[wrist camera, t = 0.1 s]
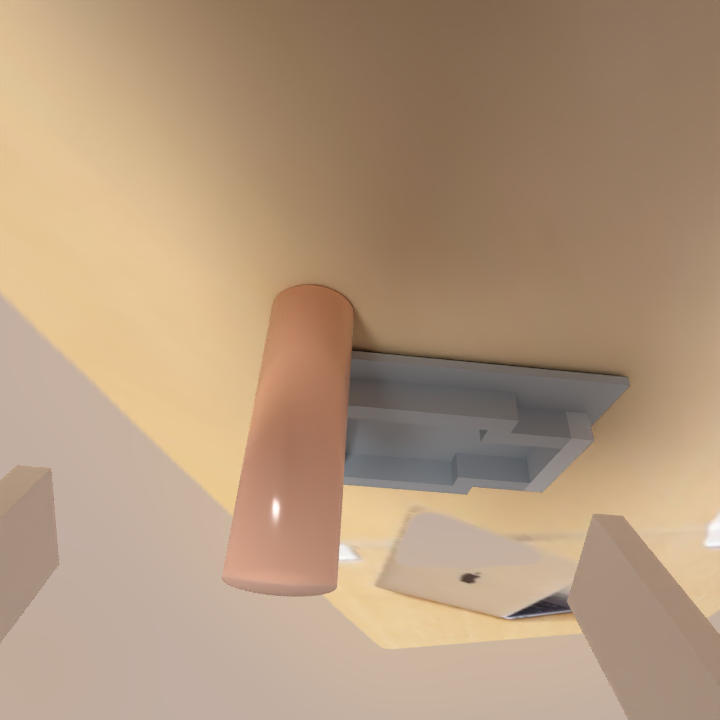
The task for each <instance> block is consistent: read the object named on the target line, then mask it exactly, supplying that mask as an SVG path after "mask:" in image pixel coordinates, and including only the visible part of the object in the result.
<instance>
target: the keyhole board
mask: <svg viewBox="0 0 720 720" xmlns="http://www.w3.org/2000/svg"><path fill="white" fill-rule="evenodd" d="M629 386H630V383H629V380H628V377H620V376H610V375H599V374H589V373H579V372H568V371H558V370H547V369H537V368H527V367H516V366H506V365H495V364H485V363H475V362H464V361H454V360H444V359H433V358H423V357H412V356H402V355H392V354H381V353H371V352H360V351H352V355H351V370H350V386H349V402H348V418H347V434H346V449H345V465H344V481H343V485H355V486H367V487H380V488H392V489H404V490H417V491H429V492H441V493H454V494H466V495H467V493H468V492H469V491H470V489H471V488H472V487H482V488H494V489H506V490H518V491H530V492H543V491H544V490H545V489H546V488H547V487H548V486H549V485H550V484H551V483H552V482H553V481H554V480H555V479H556V478H557V477H558V476H559V475H560V474H561V473H562V472H563V471H564V470H565V469H566V468H567V467H568V466H569V465H570V464H571V463H572V462H573V461H574V460H575V459H576V458H577V457H578V456H579V455H580V454H581V453H582V452H583V451H584V450H585V449H586V448H587V447H588V446H589V445H590V444H591V443H592V442H593V441H594V437H593V433H592V429H591V426H592V425H593V424H594V423H595V422H596V421H597V420H598V419H599V418H600V417H601V416H602V415H603V414H604V412H605V411H606V410H607V409H608V408H609V407H610V406H611V405H612V404H613V403H614V402H615V401H616V400H617V399H618V398H619V397H620V396H621V395H622V394H623V393H624V391H625V390H626V389H627V388H628V387H629Z"/></svg>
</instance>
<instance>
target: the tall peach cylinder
mask: <svg viewBox="0 0 720 720" xmlns="http://www.w3.org/2000/svg"><path fill="white" fill-rule="evenodd" d="M353 323H354V311H353V308H352V306H351V304H350V303H349V301H348V300H347V299H346V298H345V297H343V296H342V295H341V294H339V293H338V292H336V291H334V290H331V289H329V288H326V287H322V286H316V285H300V286H295V287H291V288H288V289H286V290H284V291H283V292H281V293H280V294H279V295H278V296H277V297H276V298H275V299H274V301H273V304H272V309H271V314H270V320H269V325H268V330H267V336H266V341H265V347H264V352H263V358H262V363H261V368H260V374H259V379H258V385H257V390H256V396H255V401H254V406H253V412H252V417H251V423H250V428H249V433H248V439H247V444H246V450H245V455H244V461H243V466H242V471H241V477H240V482H239V488H238V493H237V499H236V504H235V509H234V515H233V520H232V526H231V531H230V537H229V542H228V548H227V553H226V558H225V564H224V569H223V574H222V580H223V581H224V582H225V583H227V584H228V585H230V586H232V587H235V588H238V589H241V590H245V591H249V592H254V593H260V594H267V595H277V596H314V595H321V594H326V593H329V592H332V591H334V590H335V589H336V588H337V576H338V560H339V544H340V528H341V513H342V497H343V481H344V465H345V449H346V434H347V418H348V402H349V386H350V370H351V355H352V339H353Z"/></svg>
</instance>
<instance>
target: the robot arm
mask: <svg viewBox="0 0 720 720" xmlns="http://www.w3.org/2000/svg"><path fill="white" fill-rule="evenodd" d="M55 521H56V520H55V508H54V497H53V485H52V473H51V468H44V467H33V466H20V465H17V466H16V467H15V468H14V469H12V471H10V472H9V473H8V474H7V475H6V476H4V477H3V478H2V479H1V480H0V643H1V642H2V640H3V639H4V638H5V636H6V635H7V633H8V632H9V631H10V630H11V628H12V627H13V626H14V624H15V623H16V622H17V620H18V619H19V618H20V616H21V615H22V614H23V612H24V611H25V610H26V608H27V607H28V605H29V604H30V603H31V601H32V600H33V599H34V597H35V596H36V595H37V593H38V592H39V591H40V589H41V588H42V587H43V585H44V584H45V583H46V581H47V580H48V579H49V577H50V576H51V575H52V573H53V572H54V571H55V569H56V568H57V567H58V565H59V556H58V545H57V532H56V522H55ZM567 603H568V605H569V606H570V608H571V610H572V612H573V614H574V616H575V618H576V620H577V622H578V624H579V626H580V628H581V630H582V631H583V633H584V635H585V637H586V639H587V641H588V643H589V645H590V647H591V649H592V651H593V653H594V655H595V656H596V658H597V660H598V662H599V664H600V666H601V668H602V670H603V672H604V674H605V676H606V677H607V680H608V681H609V683H610V685H611V687H612V689H613V691H614V693H615V695H616V697H617V699H618V701H619V703H620V704H621V706H622V708H623V710H624V712H625V714H626V716H627V718H628V720H720V634H719V633H718V632H717V631H716V629H715V628H714V627H713V626H712V625H711V623H710V622H709V621H708V620H707V618H706V617H705V616H704V615H703V613H702V612H701V611H700V610H699V609H698V607H697V606H696V605H695V604H694V602H693V601H692V600H691V599H690V598H689V596H688V595H687V594H686V593H685V591H684V590H683V589H682V588H681V587H680V585H679V584H678V583H677V582H676V580H675V579H674V578H673V577H672V575H671V574H670V573H669V572H668V571H667V569H666V568H665V567H664V566H663V564H662V563H661V562H660V561H659V560H658V558H657V557H656V556H655V555H654V553H653V552H652V551H651V550H650V549H649V547H648V546H647V545H646V544H645V542H644V541H643V540H642V539H641V538H640V536H639V535H638V534H637V533H636V531H635V530H634V529H633V528H632V527H631V525H630V524H629V523H628V522H627V520H626V519H625V518H624V517H623V516H616V515H604V514H593V516H592V519H591V523H590V526H589V529H588V533H587V536H586V540H585V543H584V546H583V550H582V553H581V556H580V560H579V563H578V567H577V570H576V573H575V577H574V580H573V583H572V587H571V590H570V594H569V597H568V600H567Z"/></svg>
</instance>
